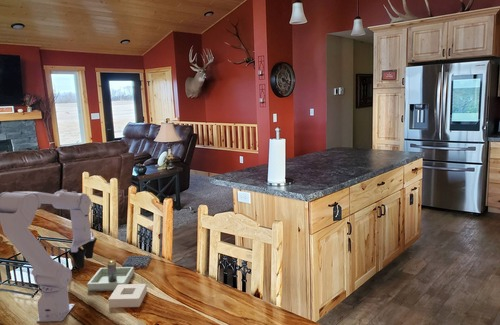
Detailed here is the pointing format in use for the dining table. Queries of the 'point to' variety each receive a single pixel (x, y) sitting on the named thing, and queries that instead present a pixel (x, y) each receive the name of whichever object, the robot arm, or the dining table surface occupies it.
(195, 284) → the dining table surface
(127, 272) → the tray
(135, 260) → the woven mat
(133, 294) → the block
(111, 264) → the steel pin
